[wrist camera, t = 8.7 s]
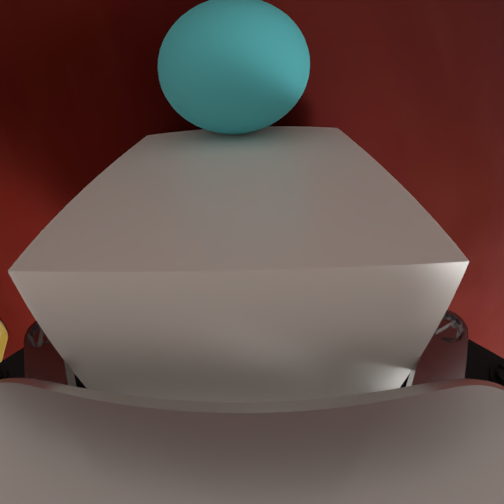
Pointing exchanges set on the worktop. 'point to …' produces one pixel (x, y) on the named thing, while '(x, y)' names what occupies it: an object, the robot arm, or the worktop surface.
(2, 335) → the plant pot
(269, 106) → the ball
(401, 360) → the pale grey cube
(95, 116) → the worktop surface
